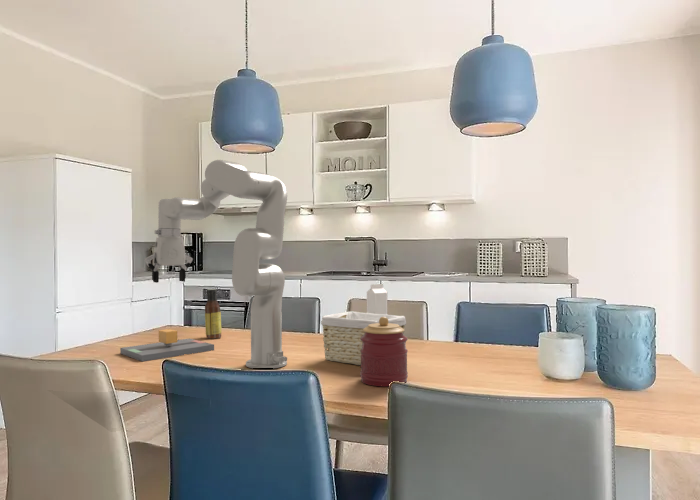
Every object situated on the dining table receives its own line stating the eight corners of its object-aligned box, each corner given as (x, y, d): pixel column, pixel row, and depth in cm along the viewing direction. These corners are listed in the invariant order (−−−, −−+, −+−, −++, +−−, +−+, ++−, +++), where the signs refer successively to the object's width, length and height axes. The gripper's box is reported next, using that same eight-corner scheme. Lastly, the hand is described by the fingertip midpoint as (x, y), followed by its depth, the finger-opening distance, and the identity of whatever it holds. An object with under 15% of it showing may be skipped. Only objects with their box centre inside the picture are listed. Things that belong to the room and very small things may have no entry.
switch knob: (177, 345, 182) (177, 330, 182) (166, 346, 180) (166, 332, 180) (169, 343, 187) (169, 329, 187) (158, 344, 184) (158, 330, 184)
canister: (404, 375, 149) (404, 313, 149) (411, 387, 136) (410, 319, 136) (359, 375, 148) (358, 313, 148) (361, 387, 135) (361, 320, 135)
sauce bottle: (223, 336, 214) (223, 288, 214) (218, 339, 208) (218, 289, 208) (208, 336, 215) (208, 288, 215) (202, 339, 209) (202, 289, 209)
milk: (366, 339, 207) (366, 284, 207) (379, 338, 210) (378, 283, 210) (375, 341, 201) (374, 284, 201) (388, 340, 205) (387, 284, 205)
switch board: (214, 350, 186) (214, 344, 186) (142, 361, 168) (142, 355, 168) (189, 343, 199) (189, 338, 199) (120, 353, 180) (120, 347, 180)
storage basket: (319, 360, 169) (318, 315, 169) (349, 352, 182) (349, 310, 182) (379, 370, 154) (379, 321, 154) (408, 361, 167) (408, 315, 167)
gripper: (149, 233, 177) (149, 283, 177) (197, 234, 188) (196, 281, 189) (141, 233, 182) (140, 282, 182) (187, 234, 194) (187, 280, 194)
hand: (169, 281), depth 185 cm, fingers open, 9 cm apart
